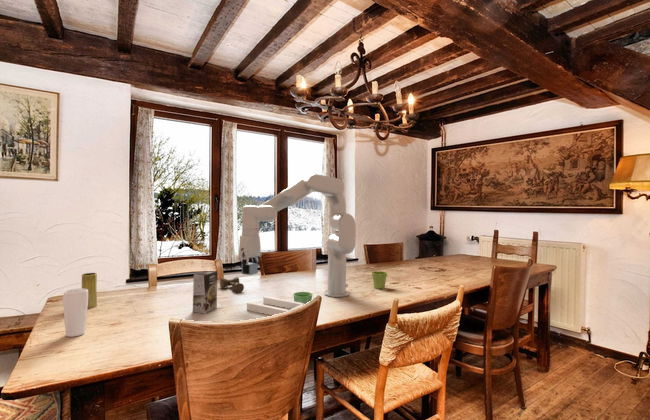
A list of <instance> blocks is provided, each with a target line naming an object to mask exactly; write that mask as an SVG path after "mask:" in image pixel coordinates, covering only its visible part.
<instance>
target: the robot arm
mask: <svg viewBox="0 0 650 420" xmlns="http://www.w3.org/2000/svg"><path fill="white" fill-rule="evenodd" d="M344 191H345V184H344V182H343V181H342V180H341V179H339V178H336V177H332V176H327V175H323V174H317V173H313V174H312V173H311V174H308V175H304V176H303V177H302V178H300V179H298V180H297V181H296V182H294V183H293V184H291V185H290V186H289V187H287V188H286V189H283V190H281V192H279V193H278V194H276V195H274V196H273V197H270V198H269V199H268V200H266V201H265V202H263V203H262V204H261V205H259V206H258V205H244V206H243V207H242V214H241V217H242V218H241V219H242V221H241V222H242V223H241V229H242V230H241V235H240V239H239V244H238V245H239V247H238V257H237V259H238V261H240V263H241V266H242V265H243V273H245V274H244V275H246V274H249V265H248V263H249V261H250V259H251V261H252V262H251V263H258V264H259V261H260V258H261V257H262V255H263V254H262V251H261V250H262V249H261V238H260V222H265V223H266V222H267V223H268V222H273V221H275V220H276V219H277V217H278V212H280V211H281V210H283V209H285V208H289V207H291V206H294V205H296V204H298V203H299V202H301V201H302V200H303V199H304V198H306V197H307V196H309V195H310V194H312V193H315V192H317V193H319V194H322V195H323V196H324V197H325V198H326V200H327V201H328V205H329V222H328V223H329V227H330V229H331V230H333V231H336V232H338V233H332V234H331V235H329V237H328V238H327V240H326V250H327V257H328V258H327V289H326V290H324V295H325V296H327V297H332V298H343V297H347V296H349V293H350V292H349V291H348V290H346V289H347V288H348V287H349V285H348V283H347V256H346V255H349V254H351V253H352V252H353V251H354V250H355V248H356V240H357V239H356V237H357V236H356V233H357V232H356V231H357V226H356V225H357V223H356V220H355V218H354V216H353V215H352V214H350V213H348V212H347V206H346V205H347V204H346V199H345V196H344V194H343V192H344Z"/></svg>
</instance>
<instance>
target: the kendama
mask: <svg viewBox="0 0 650 420" xmlns="http://www.w3.org/2000/svg"><path fill="white" fill-rule="evenodd" d="M228 286H231V288H232V290H233V291H234V292H235V293H237V294H238V293H242V292H243V291H244V289H245V285H244V284H243V283H241V282H240V278H239V276H235V277H233V278H232V279H226V278H224V277H221V278H220V279H219V287H220V289H222V290H224V289H225V288H226V287H228Z"/></svg>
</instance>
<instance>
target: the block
mask: <svg viewBox="0 0 650 420" xmlns="http://www.w3.org/2000/svg"><path fill="white" fill-rule="evenodd" d="M258 264H259V262H258V263H252V262H248V265H249V274H245V273H243V265H242V264H241V274H242V275H245V276H246V275H247V276H252V275H256V274H258V267H259V266H258Z"/></svg>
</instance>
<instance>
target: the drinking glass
mask: <svg viewBox="0 0 650 420" xmlns="http://www.w3.org/2000/svg"><path fill="white" fill-rule="evenodd" d="M62 297H63V300H62V305H63V315H64V325H65V326H64V327H65V337H68V338H75V337H79V336H82V335H83V334H85V332H86V322H87V313H88V308H87V307H88V289H83V288H82V287H81V288H72V289H68V290H65V291H63V296H62Z"/></svg>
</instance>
